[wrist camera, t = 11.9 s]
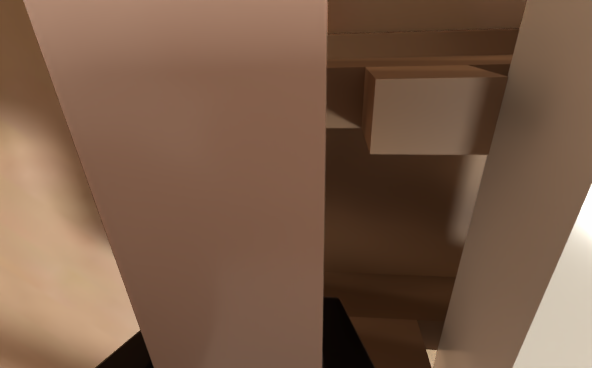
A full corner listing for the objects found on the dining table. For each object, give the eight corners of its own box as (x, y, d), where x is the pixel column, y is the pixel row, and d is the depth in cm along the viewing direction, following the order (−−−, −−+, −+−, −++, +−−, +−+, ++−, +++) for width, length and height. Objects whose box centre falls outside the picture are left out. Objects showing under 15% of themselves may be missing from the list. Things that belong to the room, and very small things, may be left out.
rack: (528, 305, 15) (616, 428, 11) (222, 291, 17) (182, 394, 12) (644, 24, 10) (925, 25, 5) (177, 38, 11) (72, 49, 7)
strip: (506, 381, 13) (562, 495, 10) (430, 376, 13) (461, 484, 10) (682, -25, 7) (986, -67, 4) (531, -18, 7) (693, -51, 4)
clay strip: (321, 416, 12) (319, 553, 9) (244, 410, 12) (215, 540, 9) (328, -21, 6) (328, -75, 3) (170, -14, 6) (3, -56, 3)
